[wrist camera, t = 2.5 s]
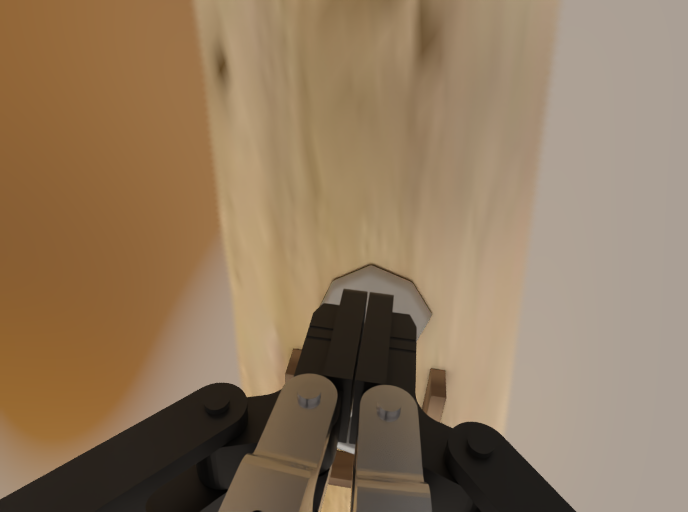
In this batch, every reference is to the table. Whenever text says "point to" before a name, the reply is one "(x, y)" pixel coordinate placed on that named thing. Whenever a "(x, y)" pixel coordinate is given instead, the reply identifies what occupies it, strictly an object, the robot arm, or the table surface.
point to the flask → (385, 283)
